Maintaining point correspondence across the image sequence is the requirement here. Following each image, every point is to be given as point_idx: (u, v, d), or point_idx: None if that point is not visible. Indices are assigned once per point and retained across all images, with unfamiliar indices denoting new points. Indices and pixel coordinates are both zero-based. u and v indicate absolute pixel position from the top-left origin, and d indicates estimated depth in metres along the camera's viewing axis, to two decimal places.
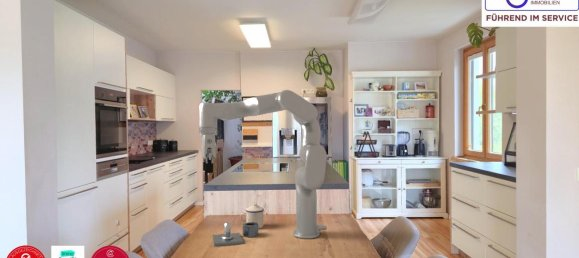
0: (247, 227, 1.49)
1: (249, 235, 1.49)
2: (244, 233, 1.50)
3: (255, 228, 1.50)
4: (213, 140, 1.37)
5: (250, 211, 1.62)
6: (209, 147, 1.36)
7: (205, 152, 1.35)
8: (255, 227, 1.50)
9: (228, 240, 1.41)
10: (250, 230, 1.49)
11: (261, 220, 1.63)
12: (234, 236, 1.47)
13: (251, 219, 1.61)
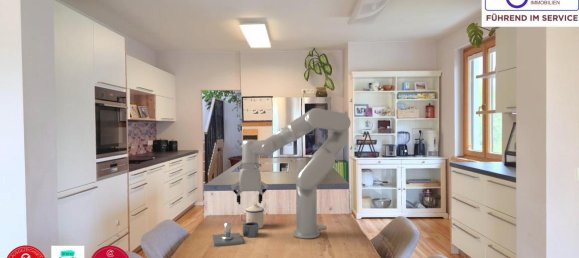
0: (247, 227, 1.49)
1: (249, 235, 1.49)
2: (244, 233, 1.50)
3: (255, 228, 1.50)
4: None
5: (250, 211, 1.62)
6: None
7: None
8: (255, 227, 1.50)
9: (228, 240, 1.41)
10: (250, 230, 1.49)
11: (261, 220, 1.63)
12: (234, 236, 1.47)
13: (251, 219, 1.61)
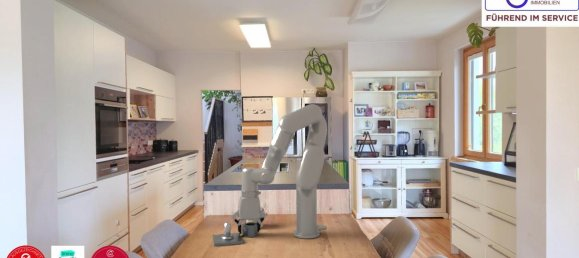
0: (247, 227, 1.49)
1: (249, 235, 1.48)
2: (244, 233, 1.49)
3: (255, 228, 1.50)
4: None
5: None
6: None
7: None
8: (255, 227, 1.50)
9: (228, 240, 1.41)
10: (250, 230, 1.49)
11: None
12: (234, 236, 1.47)
13: (251, 219, 1.61)
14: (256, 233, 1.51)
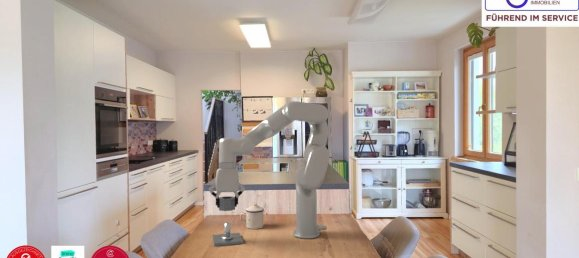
0: (223, 200, 1.41)
1: (225, 208, 1.41)
2: (220, 207, 1.42)
3: (231, 201, 1.42)
4: None
5: (250, 211, 1.62)
6: None
7: (238, 187, 1.44)
8: (231, 200, 1.42)
9: (228, 240, 1.41)
10: (226, 203, 1.41)
11: (261, 220, 1.63)
12: (234, 236, 1.47)
13: (251, 219, 1.61)
14: (233, 207, 1.43)
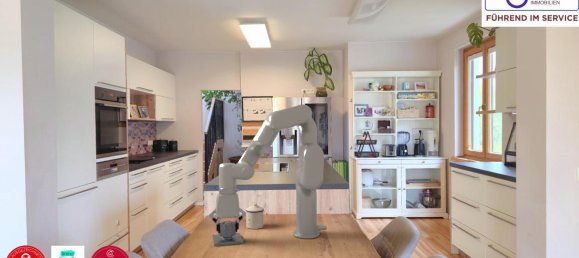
0: (223, 226, 1.41)
1: (226, 235, 1.41)
2: (220, 233, 1.42)
3: (232, 227, 1.42)
4: None
5: (250, 211, 1.62)
6: None
7: None
8: (232, 226, 1.42)
9: (228, 240, 1.41)
10: (227, 229, 1.41)
11: (261, 220, 1.63)
12: (234, 236, 1.47)
13: (251, 219, 1.61)
14: (234, 232, 1.43)
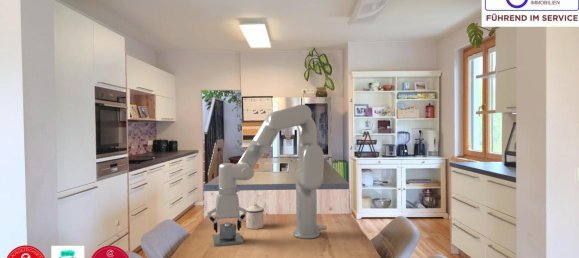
0: (224, 228, 1.41)
1: (226, 237, 1.41)
2: (221, 234, 1.42)
3: (232, 229, 1.42)
4: None
5: (250, 211, 1.62)
6: None
7: None
8: (232, 228, 1.42)
9: (228, 240, 1.41)
10: (227, 231, 1.41)
11: (261, 220, 1.63)
12: None
13: (251, 219, 1.61)
14: (234, 234, 1.43)
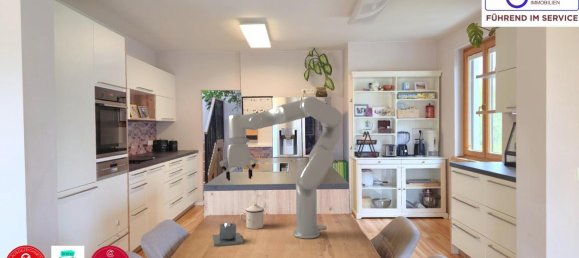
0: (224, 228, 1.41)
1: (226, 237, 1.41)
2: (221, 234, 1.42)
3: (232, 229, 1.42)
4: None
5: (250, 211, 1.62)
6: None
7: None
8: (232, 228, 1.42)
9: (228, 240, 1.41)
10: (227, 231, 1.41)
11: (261, 220, 1.63)
12: None
13: (251, 219, 1.61)
14: (234, 234, 1.43)
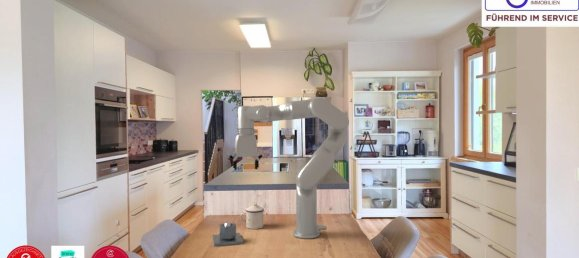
0: (224, 228, 1.41)
1: (226, 237, 1.41)
2: (221, 234, 1.42)
3: (232, 229, 1.42)
4: None
5: (250, 211, 1.62)
6: None
7: (256, 151, 1.53)
8: (232, 228, 1.42)
9: (228, 240, 1.41)
10: (227, 231, 1.41)
11: (261, 220, 1.63)
12: None
13: (251, 219, 1.61)
14: (234, 234, 1.43)
